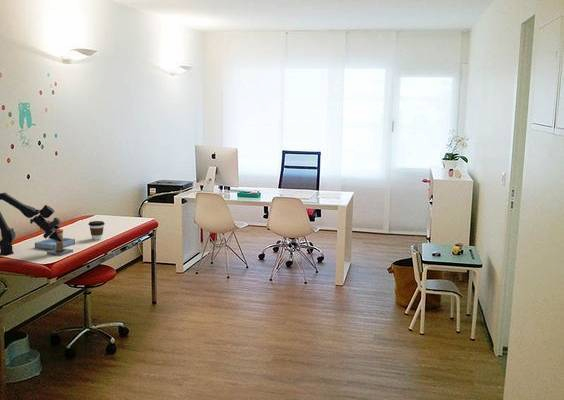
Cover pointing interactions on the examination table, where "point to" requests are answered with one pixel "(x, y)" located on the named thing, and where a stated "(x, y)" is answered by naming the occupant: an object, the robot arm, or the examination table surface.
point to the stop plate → (65, 251)
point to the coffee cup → (96, 229)
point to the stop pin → (58, 244)
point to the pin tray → (53, 243)
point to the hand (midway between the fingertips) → (61, 240)
